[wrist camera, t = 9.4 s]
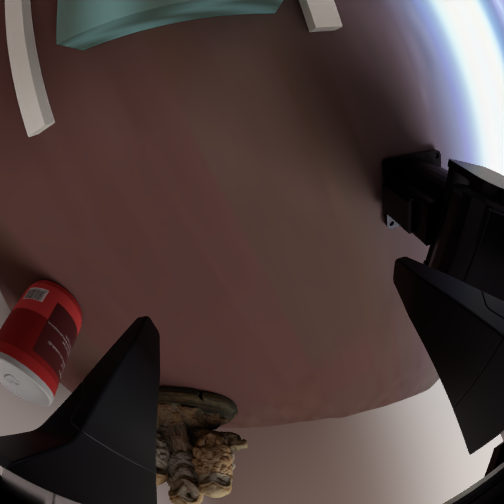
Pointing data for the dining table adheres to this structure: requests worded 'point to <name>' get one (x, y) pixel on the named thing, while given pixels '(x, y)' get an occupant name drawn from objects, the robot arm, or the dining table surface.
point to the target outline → (28, 68)
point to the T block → (139, 16)
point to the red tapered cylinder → (38, 341)
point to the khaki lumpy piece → (195, 444)
